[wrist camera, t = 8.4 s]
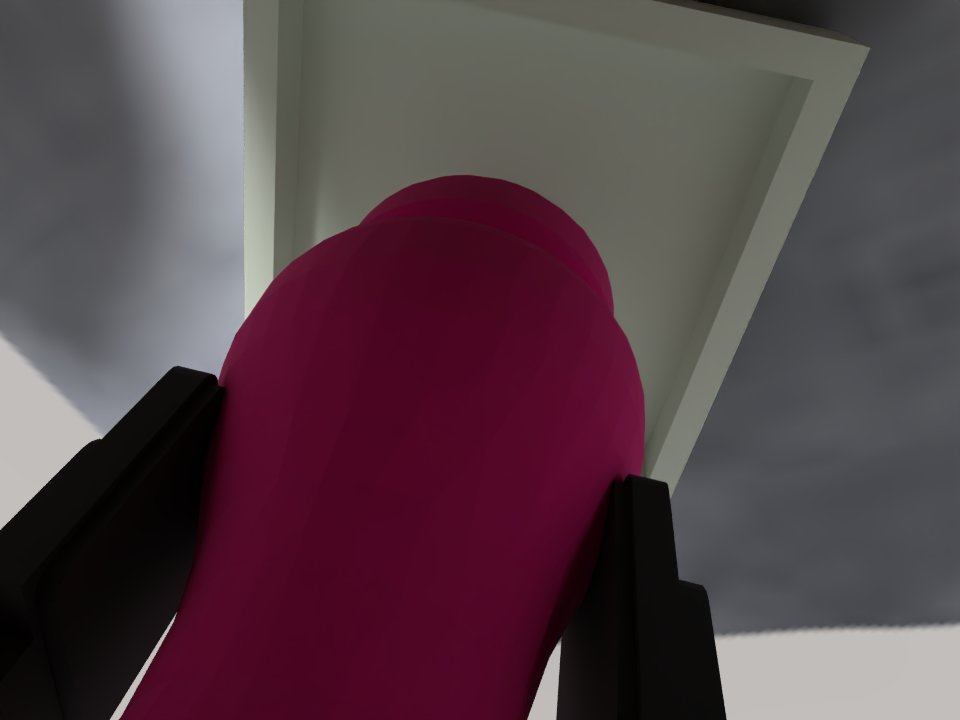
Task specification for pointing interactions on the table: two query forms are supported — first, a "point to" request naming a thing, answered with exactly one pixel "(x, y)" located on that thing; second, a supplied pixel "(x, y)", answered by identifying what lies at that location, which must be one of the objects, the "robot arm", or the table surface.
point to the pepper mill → (406, 470)
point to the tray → (558, 148)
